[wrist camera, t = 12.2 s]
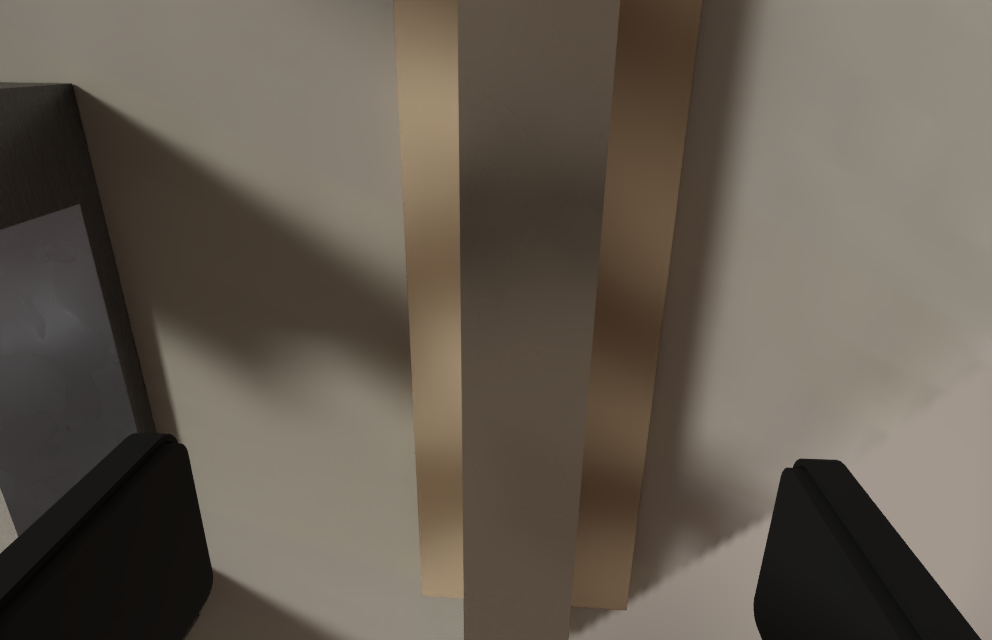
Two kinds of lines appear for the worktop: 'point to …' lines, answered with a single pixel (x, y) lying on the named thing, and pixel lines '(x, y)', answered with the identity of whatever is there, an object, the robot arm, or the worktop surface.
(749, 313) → the worktop surface
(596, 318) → the mat
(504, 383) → the rail
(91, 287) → the rack
